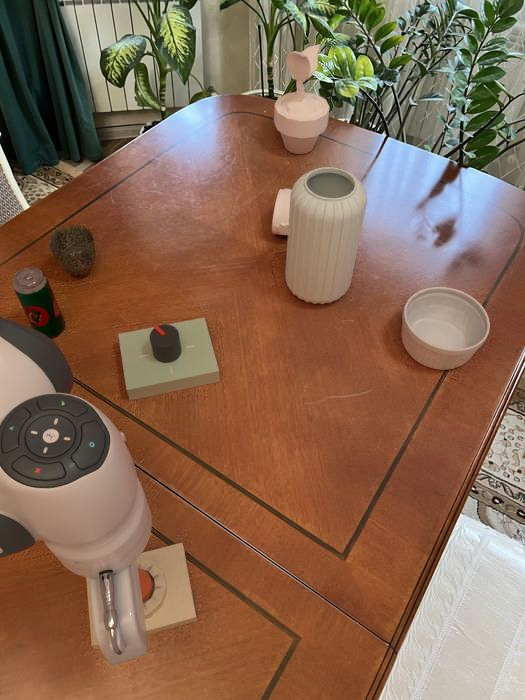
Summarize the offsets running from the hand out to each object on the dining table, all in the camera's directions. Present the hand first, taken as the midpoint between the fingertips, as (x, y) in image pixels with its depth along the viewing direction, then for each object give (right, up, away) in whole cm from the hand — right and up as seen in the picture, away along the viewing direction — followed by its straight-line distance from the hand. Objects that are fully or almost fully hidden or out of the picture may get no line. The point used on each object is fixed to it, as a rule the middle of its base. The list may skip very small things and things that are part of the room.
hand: (125, 567), depth 61 cm
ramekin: (+43, +24, +33) cm, 60 cm away
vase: (+24, +34, +40) cm, 58 cm away
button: (0, -5, +6) cm, 7 cm away
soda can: (-21, +27, +34) cm, 48 cm away
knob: (0, +23, +27) cm, 36 cm away
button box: (0, -7, +8) cm, 11 cm away
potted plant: (+23, +69, +66) cm, 98 cm away
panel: (0, +21, +30) cm, 36 cm away
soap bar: (+22, +47, +50) cm, 72 cm away
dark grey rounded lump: (-18, +37, +42) cm, 59 cm away
